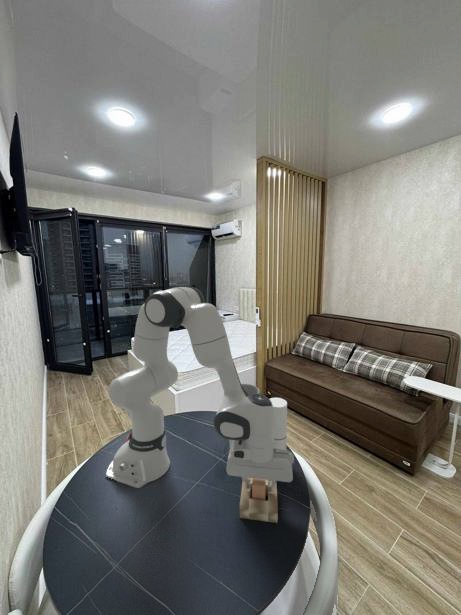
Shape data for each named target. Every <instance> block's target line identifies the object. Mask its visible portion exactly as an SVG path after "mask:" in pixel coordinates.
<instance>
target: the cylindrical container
mask: <svg viewBox="0 0 461 615" xmlns="http://www.w3.org/2000/svg"><path fill="white" fill-rule="evenodd" d="M269 399H270V401H271V402H272V405H273V409H274V430H273V436H274V449H281V450H287V439H288V438H287V437H288V436H287V434H288V433H287V432H288V431H287V429H288V428H287V427H288V402H287V400H286V399H285V398H284V399H283V398H282V397H271V398H269Z"/></svg>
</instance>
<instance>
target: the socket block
mask: <svg viewBox="0 0 461 615" xmlns="http://www.w3.org/2000/svg"><path fill="white" fill-rule="evenodd" d="M247 479H248V480H250V489H246V488H245V483H244V482H243V481H242V483H241V492H240V501H239V518H240V519H248V520H253V521H260V522H261V521H262V522H268V523H275V524H278V518H279V515H278V511H279V508H278V507H279V506H278V505H279V504H278V489H277V488H278V487H277V483H276V484H275V486H274V487H273V492H270V491H268V482H271V481H272V480H265V497H267V500H266V499H265V500H257V499H252V479H253V478H248V477H247Z"/></svg>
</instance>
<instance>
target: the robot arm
mask: <svg viewBox="0 0 461 615" xmlns="http://www.w3.org/2000/svg"><path fill="white" fill-rule="evenodd" d="M181 326H182V327H184V328H185V329H186V331H187V333H188V335H189V339H190V344H191V348H192V350H193V354H194V356H195V358H196V360H197V362H198V364H199V365H201V366H202V367H204V368H208V369H214V370H215V372H217V375H218V377H219V378H218V379H219V381H220V383H221V386H222V389H223V399H222V402H221V405H220V406H219V408H218V410H217V412H216V414H215V416H214V419H213V427H214V430H215V432H216V433H217V435H218V436H220V437H221V439H224V440H227V441H229V440H233V441H232V444H231V449H230V448H229V452H228V456H227V462H226V470H225V471H226V473H227V475H228V476H233V477H241V480H242V482H244V483H245V488H246V489H250V480H248V479H247V477H248V478H256V479H265V480H272V481H271V482H268V491H270V492H273V487H274V486H275V484H277V482H283V483H291V482H292V481H293V480H294V477H293V476H294V475H293V474H294V473H293V464H294V462H295V456H294V453H293V452H292V451H290V450H289V449H286V450H281V449H274V436H273V430H274V409H273V405H272V402H271V401H270V398H268V396H266V395H265V394H261V393H260V394H257V393H253V394H250V395H248V394H247V393H246V391H245V390H244V389H243V387H242V385H241V384H242V383H241V381H240V378H239V374H238V371H237V369H236V368H237V367H236V365H235V362H234V359H233V355H232V351H231V347H230V342H229V339H228V334H227V331H226V327H225V325H224V323H223V319H222V317H221V315H220V313H219V311H218V309H217V307H216V306H215V305H213V304H212V303H209V302H206V301H205V297H204V294H203V293H202V291H201V290H199V289H198V288H196V287H194V286H187V285H186V286H176V287H172V288H168V289H165V290H158V291H155V292H153V293H152V294H150V295H149V296H148V297H147V298H146V299H145V301H144V303H143V304H142V305H141V306H140V309H139V311H138V315H137V318H136V322H135V328H134V329H135V330H134V339H133V346H132V347H133V348H132V350H133V355H134V356H135V357H136V359H137V360H139V361H140V362H143V363H144V364H143V366H141V367H139V368H136V369H133V370H131V371H127V372H125V373H122V374H121V375H119V376H117V377H116V378H114V379H113V380H111V382H110V384H109V387H108V397H109V400H110V401H111V403H112V404H113V405H115V406H116V407H118V408H120V409H124V410H125V411H126V413H128V415H129V417H130V420H131V430H132V431H130V432H129V434H128V436H127V437H126V438H125V440H126V441H125V442H124V443H123V444H122V445H121V446H120V447H119V448H118V450H117V452H116V453H115V454H114V457H113V460H112V461H111V463H110V464H109V465H108V467H107V469H106V472H105V477H106V478H107V477H108V478H107V479H109V478H111V479H110V480H112V479H114V480H113V481H115V480H116V482H118V483H121V484H124V485H127V486H130V487H133V488H136V489H140V488H142V487H144V486H145V485H146V484H148V483H150V482H151V483H152V482H154V481H156V480H158V479H159V478H162V477H163V475H165V474H166V473H167V472H168V470H169V468H170V465H171V460H170V458H169V455H168V452H167V447H166V446H167V445H166V443H167V436H166V428H165V421H164V420H165V418H164V417H165V416H164V410H163V408H162V407H161V406H160V405H159V404H157V403H154V402H151V398H152V397H154V396H156V395H157V394H160V393H163V392H164V391H167V390H168V389H169V388H170V387H172V386H173V385H174V384H175V383H176V382H177V380H178V376H179V374H178V369H177V367H176V365H175V364H174V363H173V361H172V362H171V361H170V360H169V359H168V343H169V342H168V341H169V337H170V336H169V335H170V328H171V329H178V328H180V327H181Z"/></svg>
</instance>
